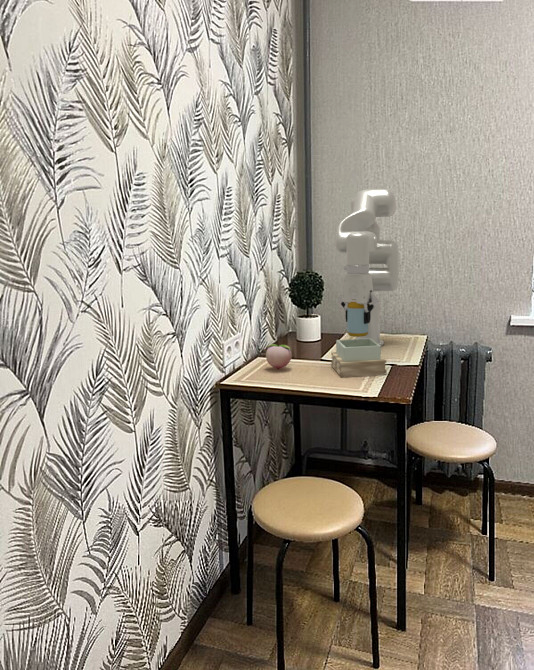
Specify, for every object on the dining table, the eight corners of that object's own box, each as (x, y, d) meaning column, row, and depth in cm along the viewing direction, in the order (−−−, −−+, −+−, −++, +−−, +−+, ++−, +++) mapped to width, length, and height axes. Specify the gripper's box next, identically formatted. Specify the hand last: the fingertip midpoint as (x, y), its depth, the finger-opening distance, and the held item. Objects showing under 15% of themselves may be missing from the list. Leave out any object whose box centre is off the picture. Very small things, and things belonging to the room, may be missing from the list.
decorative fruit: (263, 372, 216) (262, 344, 214) (267, 366, 224) (266, 339, 222) (290, 372, 215) (289, 344, 213) (293, 366, 223) (292, 339, 221)
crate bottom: (331, 366, 222) (331, 352, 221) (374, 363, 223) (374, 350, 222) (340, 377, 207) (340, 363, 206) (386, 374, 208) (386, 360, 207)
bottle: (345, 336, 210) (345, 293, 207) (349, 332, 217) (349, 290, 214) (366, 337, 208) (366, 293, 205) (369, 333, 215) (369, 290, 212)
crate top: (336, 353, 220) (336, 340, 219) (370, 351, 221) (370, 338, 220) (344, 361, 207) (344, 347, 206) (380, 359, 209) (380, 345, 208)
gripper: (330, 270, 211) (330, 321, 214) (374, 272, 200) (374, 326, 203) (342, 268, 216) (342, 318, 220) (386, 269, 205) (385, 322, 209)
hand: (357, 321), depth 212 cm, fingers closed on bottle, 6 cm apart
